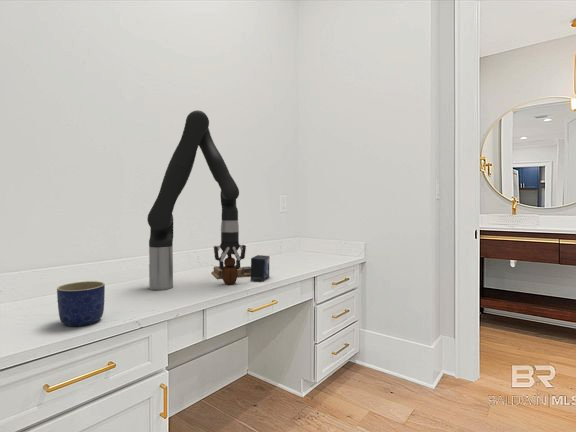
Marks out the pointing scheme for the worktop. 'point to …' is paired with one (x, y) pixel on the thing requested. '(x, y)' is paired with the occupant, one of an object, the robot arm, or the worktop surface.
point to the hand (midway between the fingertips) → (229, 269)
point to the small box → (260, 268)
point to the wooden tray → (241, 271)
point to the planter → (81, 302)
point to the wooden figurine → (229, 270)
